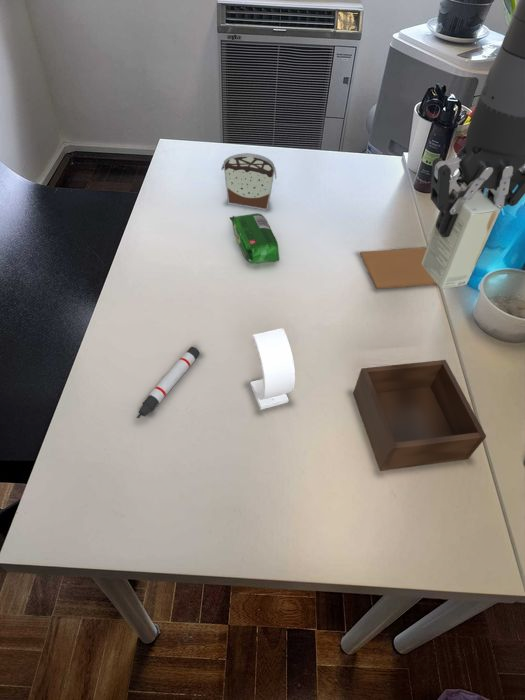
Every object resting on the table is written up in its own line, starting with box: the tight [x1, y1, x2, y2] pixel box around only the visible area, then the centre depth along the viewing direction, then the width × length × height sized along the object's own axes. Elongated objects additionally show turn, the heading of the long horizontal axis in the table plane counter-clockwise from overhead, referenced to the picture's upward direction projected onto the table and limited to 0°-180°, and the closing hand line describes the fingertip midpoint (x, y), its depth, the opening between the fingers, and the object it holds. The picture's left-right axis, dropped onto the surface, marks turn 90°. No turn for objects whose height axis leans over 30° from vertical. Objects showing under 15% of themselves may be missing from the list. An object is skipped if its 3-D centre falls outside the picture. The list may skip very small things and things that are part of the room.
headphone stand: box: [250, 327, 296, 411], centre depth 70 cm, size 5×6×12 cm
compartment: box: [352, 359, 487, 472], centre depth 70 cm, size 14×14×7 cm
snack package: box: [229, 212, 280, 265], centre depth 97 cm, size 7×16×5 cm, turn 17°
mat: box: [359, 247, 437, 290], centre depth 97 cm, size 16×11×1 cm
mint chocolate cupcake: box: [221, 152, 277, 211], centre depth 107 cm, size 12×6×10 cm, turn 77°
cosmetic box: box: [422, 186, 501, 290], centre depth 64 cm, size 6×4×12 cm
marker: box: [136, 346, 201, 419], centre depth 74 cm, size 15×2×2 cm, turn 152°
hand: (460, 231), depth 63 cm, fingers closed on cosmetic box, 4 cm apart
